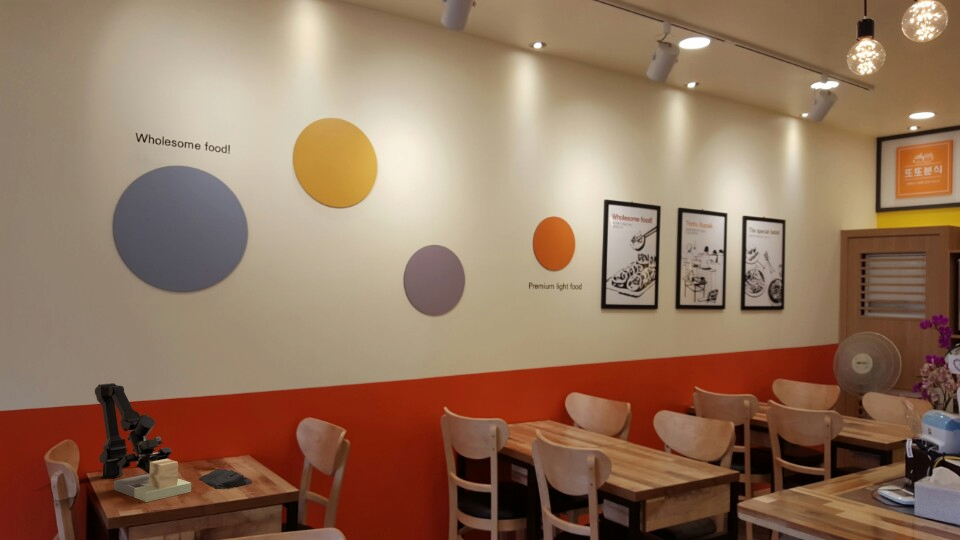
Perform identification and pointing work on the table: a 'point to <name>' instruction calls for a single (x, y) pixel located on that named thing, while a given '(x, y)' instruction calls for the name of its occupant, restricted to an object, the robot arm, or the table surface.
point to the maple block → (163, 473)
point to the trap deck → (149, 488)
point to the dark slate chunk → (224, 479)
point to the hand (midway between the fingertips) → (153, 475)
